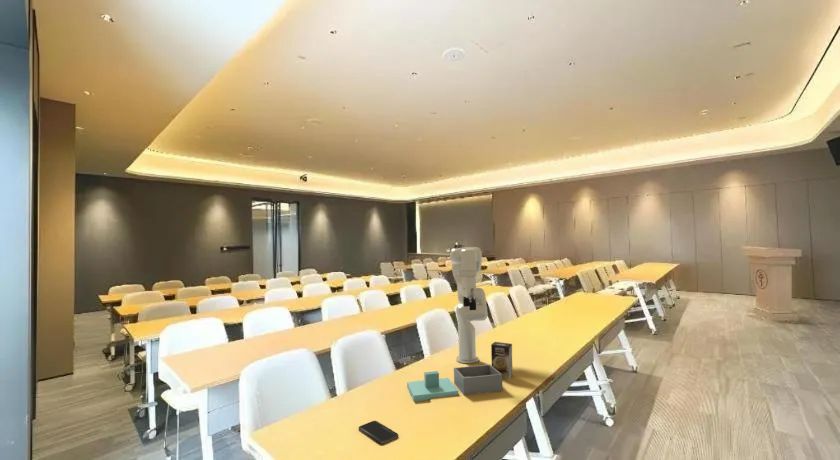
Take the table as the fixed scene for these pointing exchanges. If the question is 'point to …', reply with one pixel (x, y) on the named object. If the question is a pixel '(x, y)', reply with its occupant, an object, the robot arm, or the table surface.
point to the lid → (431, 387)
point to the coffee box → (502, 358)
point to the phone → (378, 432)
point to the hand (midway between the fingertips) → (469, 308)
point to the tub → (478, 379)
